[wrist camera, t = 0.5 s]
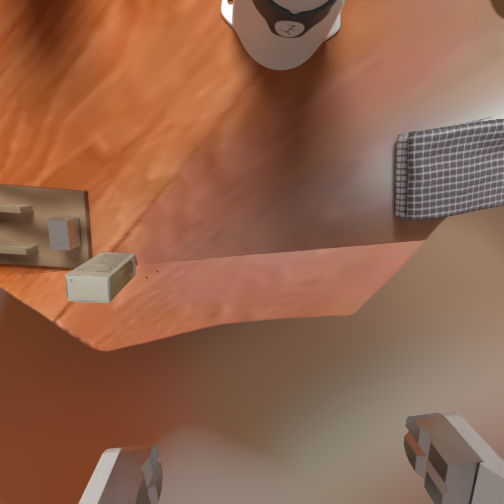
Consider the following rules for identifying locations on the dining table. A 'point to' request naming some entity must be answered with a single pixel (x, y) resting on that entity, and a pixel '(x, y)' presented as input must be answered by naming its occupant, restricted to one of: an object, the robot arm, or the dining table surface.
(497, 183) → the towel
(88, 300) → the skincare box
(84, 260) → the base
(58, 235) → the block
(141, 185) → the dining table surface
